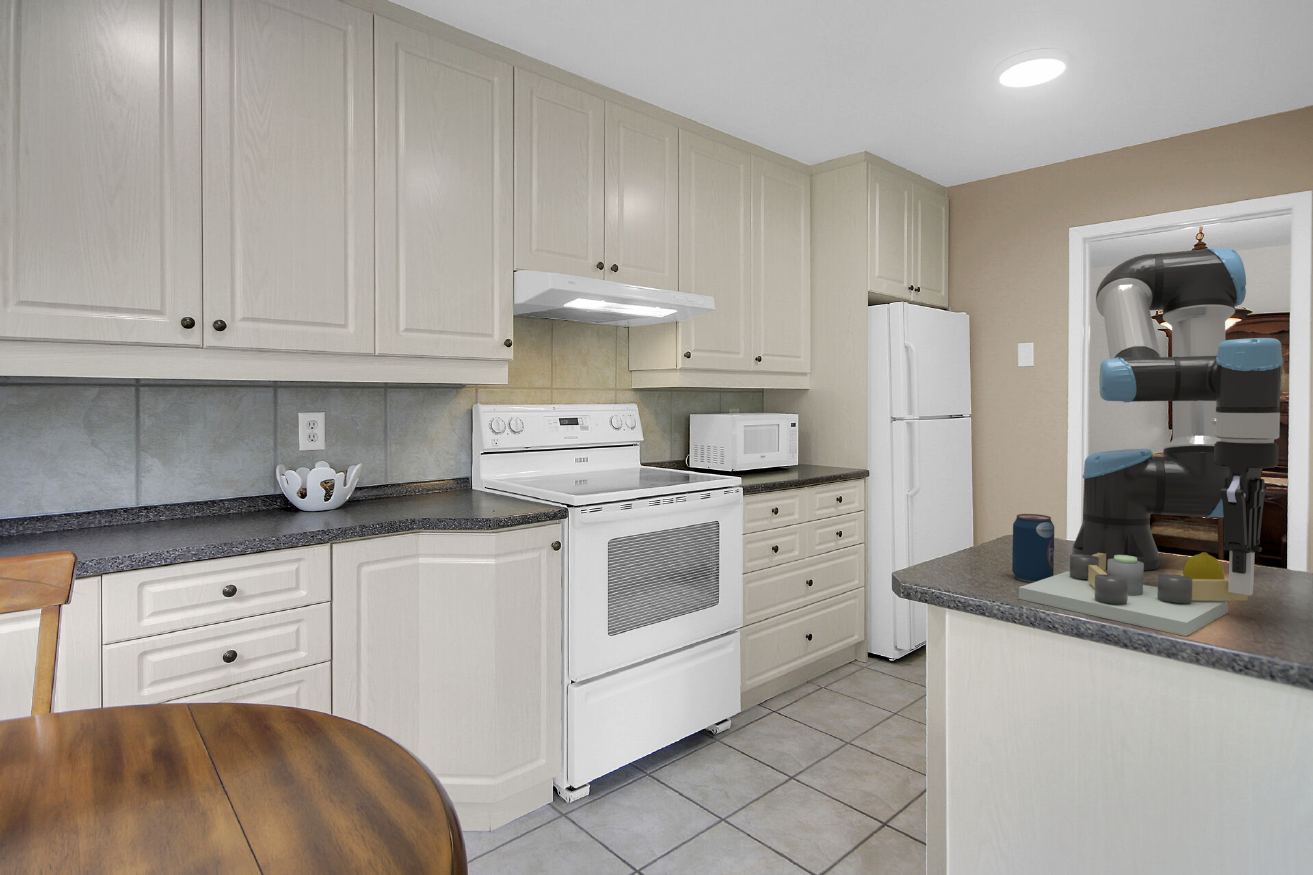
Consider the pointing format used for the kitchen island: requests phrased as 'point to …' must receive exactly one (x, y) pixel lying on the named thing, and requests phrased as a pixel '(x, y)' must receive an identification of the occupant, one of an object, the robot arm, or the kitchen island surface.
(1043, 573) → the soda can
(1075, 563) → the knob
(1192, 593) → the knob
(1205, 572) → the lemon
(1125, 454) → the robot arm
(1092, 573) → the front knob
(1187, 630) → the plate
